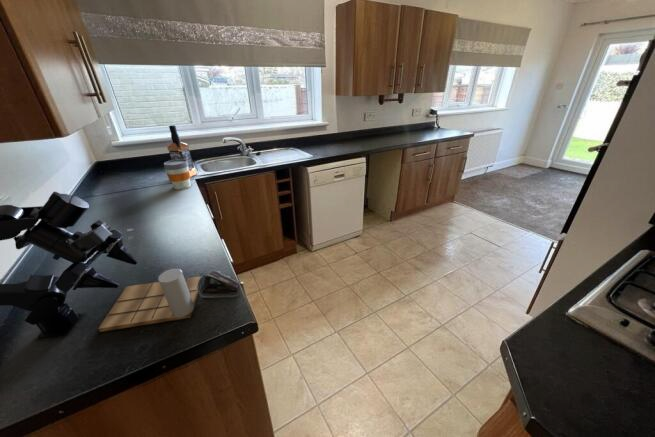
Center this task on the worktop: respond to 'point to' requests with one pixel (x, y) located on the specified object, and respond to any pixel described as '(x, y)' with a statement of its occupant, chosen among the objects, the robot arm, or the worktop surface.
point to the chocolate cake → (217, 285)
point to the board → (144, 306)
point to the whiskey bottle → (180, 150)
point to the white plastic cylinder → (176, 292)
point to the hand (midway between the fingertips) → (128, 274)
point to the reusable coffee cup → (178, 173)
